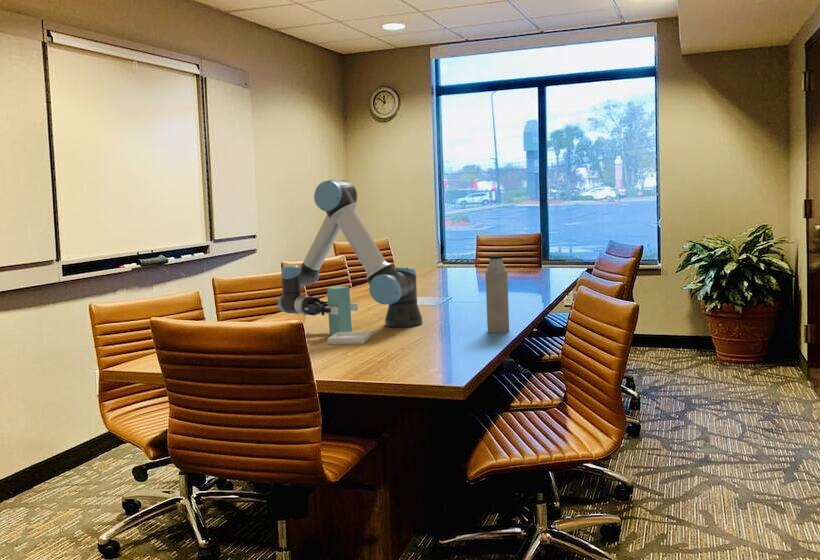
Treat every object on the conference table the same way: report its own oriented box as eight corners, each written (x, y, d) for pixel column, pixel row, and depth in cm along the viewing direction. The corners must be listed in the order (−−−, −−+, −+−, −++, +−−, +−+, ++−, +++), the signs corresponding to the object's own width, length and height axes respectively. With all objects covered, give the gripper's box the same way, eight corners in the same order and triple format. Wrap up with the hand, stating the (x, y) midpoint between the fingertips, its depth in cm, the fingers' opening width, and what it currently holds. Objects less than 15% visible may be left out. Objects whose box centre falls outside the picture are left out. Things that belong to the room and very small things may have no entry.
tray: (371, 336, 276) (371, 331, 276) (363, 343, 263) (363, 338, 263) (337, 337, 278) (337, 331, 278) (327, 344, 265) (327, 338, 265)
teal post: (329, 334, 284) (326, 288, 283) (341, 332, 289) (338, 286, 287) (340, 336, 280) (337, 288, 279) (351, 333, 285) (349, 286, 283)
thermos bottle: (491, 328, 281) (489, 255, 278) (512, 329, 277) (509, 254, 274) (484, 332, 274) (481, 256, 271) (505, 333, 270) (502, 256, 267)
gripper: (329, 311, 304) (368, 314, 289) (287, 319, 288) (326, 323, 273) (328, 292, 303) (367, 295, 288) (285, 299, 287) (324, 303, 272)
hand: (347, 309), depth 281 cm, fingers open, 9 cm apart
